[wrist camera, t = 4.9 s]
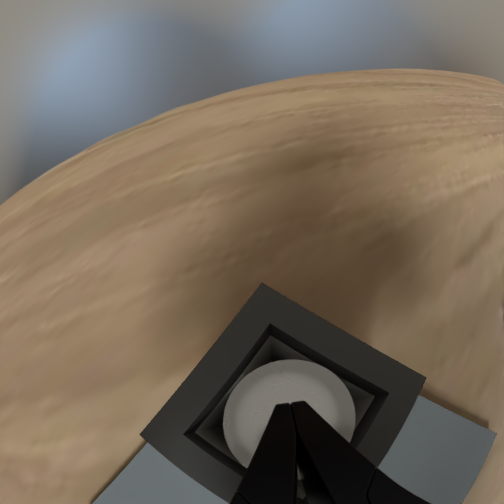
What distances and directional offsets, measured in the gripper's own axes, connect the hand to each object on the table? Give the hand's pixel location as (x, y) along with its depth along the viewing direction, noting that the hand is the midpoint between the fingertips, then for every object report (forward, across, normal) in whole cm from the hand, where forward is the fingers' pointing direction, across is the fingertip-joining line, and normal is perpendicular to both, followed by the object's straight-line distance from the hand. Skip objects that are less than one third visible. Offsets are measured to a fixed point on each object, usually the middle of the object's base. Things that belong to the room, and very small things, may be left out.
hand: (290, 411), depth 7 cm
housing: (+6, 0, +6) cm, 9 cm away
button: (+4, 0, +5) cm, 6 cm away
